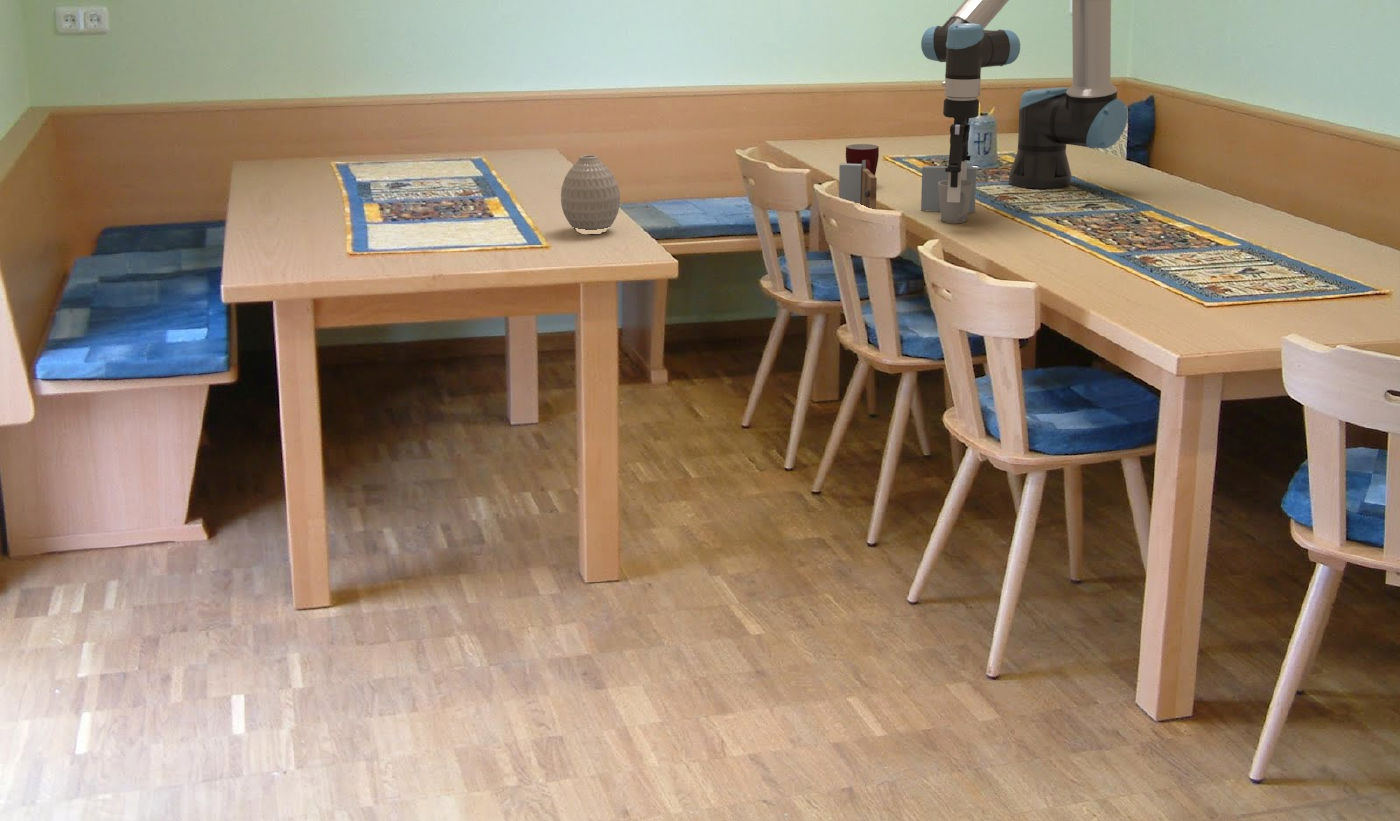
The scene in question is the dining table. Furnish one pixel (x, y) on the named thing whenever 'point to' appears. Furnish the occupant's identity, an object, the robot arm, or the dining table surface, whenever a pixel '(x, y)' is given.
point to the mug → (863, 155)
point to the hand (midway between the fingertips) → (956, 196)
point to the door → (868, 189)
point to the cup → (955, 210)
